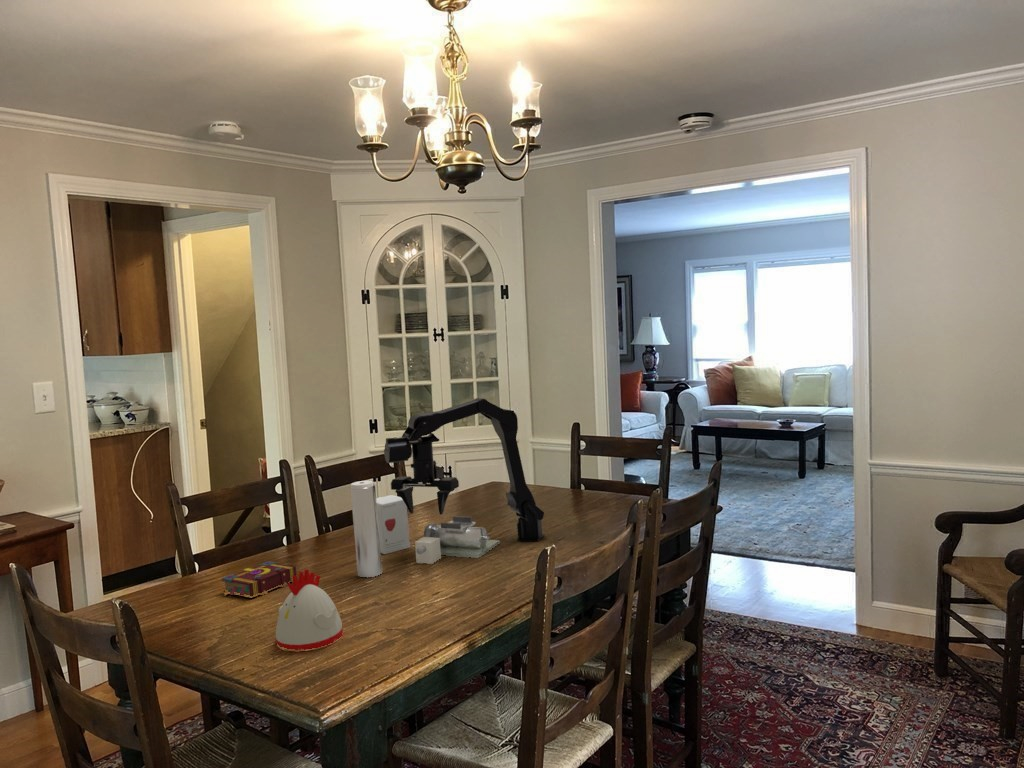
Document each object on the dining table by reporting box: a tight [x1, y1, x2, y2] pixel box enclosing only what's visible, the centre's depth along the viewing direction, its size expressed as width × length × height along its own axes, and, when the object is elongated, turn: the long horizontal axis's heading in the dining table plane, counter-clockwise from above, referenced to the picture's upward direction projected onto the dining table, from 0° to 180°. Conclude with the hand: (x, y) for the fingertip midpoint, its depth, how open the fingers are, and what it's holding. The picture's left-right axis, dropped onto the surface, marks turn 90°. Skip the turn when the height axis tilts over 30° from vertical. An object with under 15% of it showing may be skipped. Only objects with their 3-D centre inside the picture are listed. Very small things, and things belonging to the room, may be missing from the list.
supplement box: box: [376, 494, 411, 555], centre depth 231 cm, size 9×9×15 cm
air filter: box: [350, 480, 383, 579], centre depth 208 cm, size 6×6×25 cm
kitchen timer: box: [275, 568, 344, 650], centre depth 167 cm, size 14×14×15 cm
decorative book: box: [221, 560, 297, 596], centre depth 203 cm, size 11×16×5 cm
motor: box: [423, 515, 501, 559], centre depth 226 cm, size 20×14×8 cm
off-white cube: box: [414, 536, 442, 565], centre depth 216 cm, size 5×7×6 cm
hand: (426, 513), depth 219 cm, fingers open, 9 cm apart
